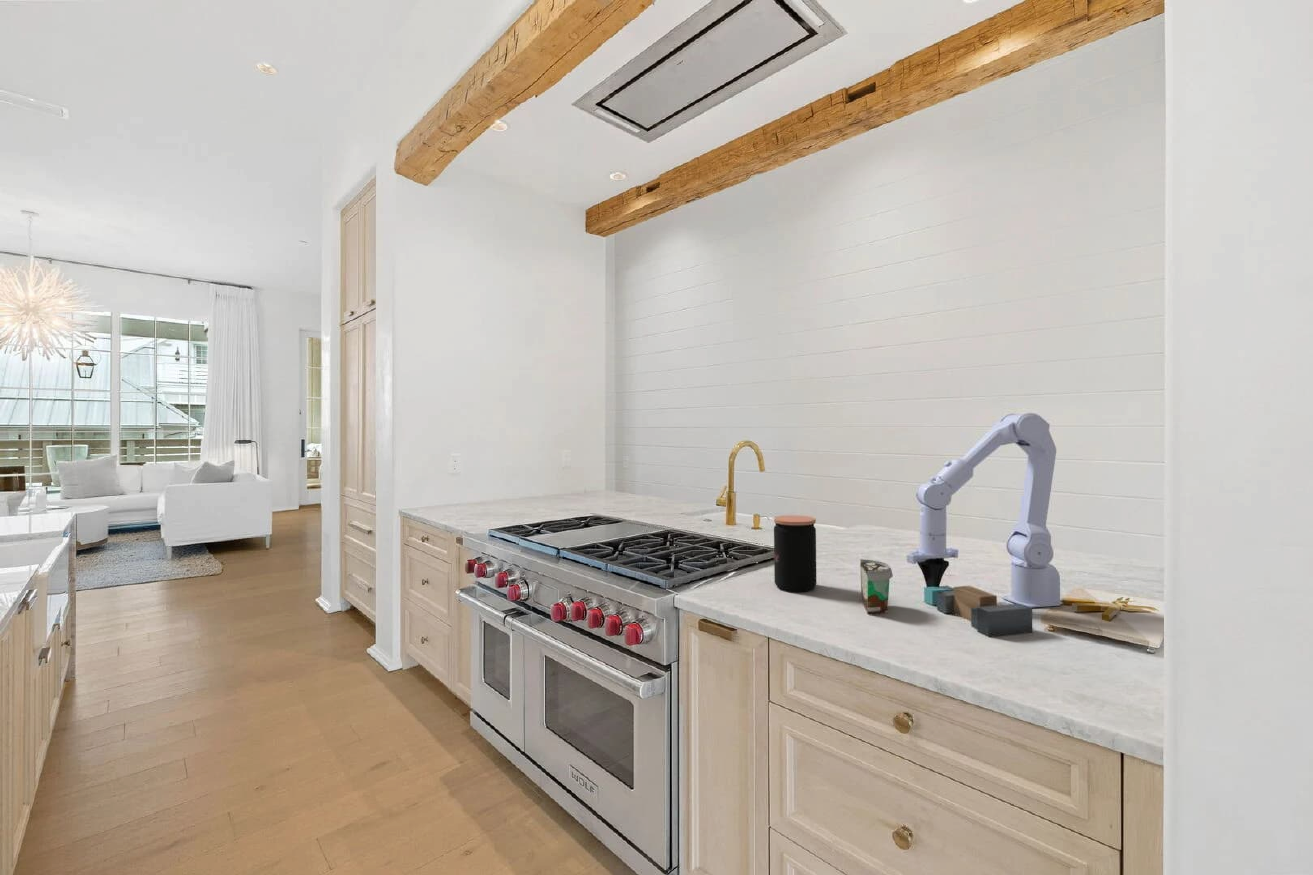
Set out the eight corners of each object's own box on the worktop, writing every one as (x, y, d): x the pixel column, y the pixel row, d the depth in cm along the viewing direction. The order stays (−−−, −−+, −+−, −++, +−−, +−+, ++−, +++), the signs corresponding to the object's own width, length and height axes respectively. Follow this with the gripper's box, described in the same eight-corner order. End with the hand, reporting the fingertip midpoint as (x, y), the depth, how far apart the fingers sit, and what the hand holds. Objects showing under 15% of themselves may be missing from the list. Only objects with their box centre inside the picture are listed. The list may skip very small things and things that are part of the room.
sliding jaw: (950, 599, 140) (950, 582, 140) (977, 611, 131) (977, 593, 131) (920, 601, 138) (920, 585, 138) (945, 613, 130) (945, 595, 129)
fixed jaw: (1009, 623, 123) (1009, 599, 123) (1032, 632, 117) (1032, 608, 117) (966, 626, 122) (966, 602, 121) (988, 636, 116) (988, 611, 116)
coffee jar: (784, 579, 160) (783, 514, 160) (822, 585, 154) (821, 517, 154) (767, 589, 152) (766, 519, 151) (807, 595, 146) (806, 523, 145)
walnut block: (969, 612, 131) (969, 585, 131) (996, 624, 123) (996, 595, 123) (953, 613, 130) (953, 586, 130) (979, 625, 122) (979, 597, 122)
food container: (898, 618, 128) (897, 572, 127) (868, 616, 129) (867, 571, 129) (887, 601, 140) (887, 559, 140) (860, 600, 141) (860, 558, 141)
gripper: (924, 539, 133) (923, 598, 133) (969, 533, 139) (968, 590, 139) (899, 533, 139) (899, 590, 140) (944, 528, 145) (943, 583, 146)
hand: (932, 590), depth 140 cm, fingers closed, pressing on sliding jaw
